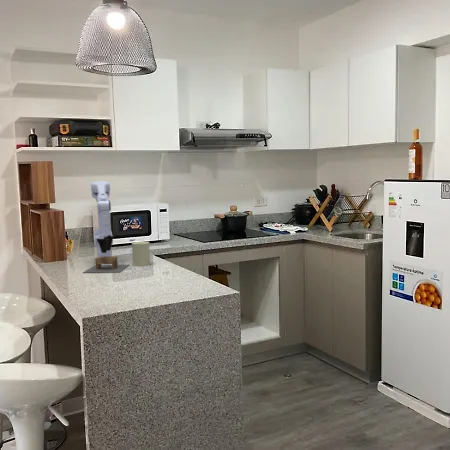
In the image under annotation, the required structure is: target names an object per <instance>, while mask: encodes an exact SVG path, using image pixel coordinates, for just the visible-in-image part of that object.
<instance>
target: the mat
mask: <svg viewBox="0 0 450 450" xmlns="http://www.w3.org/2000/svg"><path fill="white" fill-rule="evenodd" d="M117 266H118V267H117V268H116V269H113V267H112V264H101V268H99V269H96V264H95V265H93V266H91V267H90V268H88V269H86V270H85V271H83V272H82V273H83V274H96V273H97V274H103V273H104V274H112V273H115V274H116V273H117V274H118V273H121V272H122V271H124V270H126V268H128V267H129V266H130V264H117Z"/></svg>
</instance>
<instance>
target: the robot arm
mask: <svg viewBox="0 0 450 450" xmlns="http://www.w3.org/2000/svg"><path fill="white" fill-rule="evenodd" d="M110 182H111V181H109V180H105V181H104V180H103V181H94V180H93V181H91V182H90V190H91V191H90V192H91V197H92V198H93V199H95V201H96V208H97V221H98V222H97V223H98V224H97V226H98V227H97V229H95V231H93V244H94V246H95V247H96V255H97V257H109V256H113V248H112V246H113V244H114V238H115V237H114V235H113V232H112V223H111V222H112V221H111V211H112V202H111V200H110V198H109V197H110V194H111V184H110ZM97 257H96V258H97ZM95 265H96V262H95Z"/></svg>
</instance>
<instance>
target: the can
mask: <svg viewBox="0 0 450 450" xmlns="http://www.w3.org/2000/svg"><path fill="white" fill-rule="evenodd" d="M131 249H132V266H133V267H134V266H135V267H145V266H150V265H151V258H150V257H151V256H150V251H151V250H150V241H135V242H131Z"/></svg>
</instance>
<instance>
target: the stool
mask: <svg viewBox="0 0 450 450" xmlns="http://www.w3.org/2000/svg"><path fill="white" fill-rule="evenodd" d="M118 258H119V257H118V256H117V255H116V256H113V255H112V256H109V257H95V258H94V260H95V263H96V264H95V265H96V269H99V268H101V265H112V267H113V269H116V268H117V267H118V266H117V265H118Z"/></svg>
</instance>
